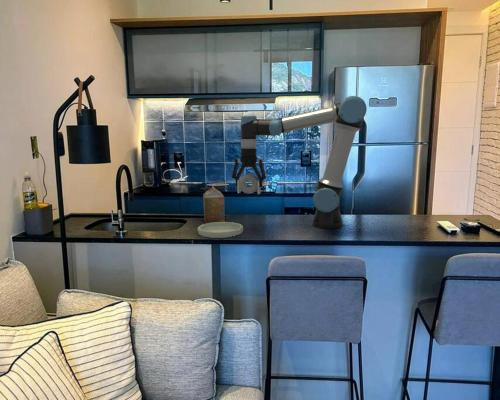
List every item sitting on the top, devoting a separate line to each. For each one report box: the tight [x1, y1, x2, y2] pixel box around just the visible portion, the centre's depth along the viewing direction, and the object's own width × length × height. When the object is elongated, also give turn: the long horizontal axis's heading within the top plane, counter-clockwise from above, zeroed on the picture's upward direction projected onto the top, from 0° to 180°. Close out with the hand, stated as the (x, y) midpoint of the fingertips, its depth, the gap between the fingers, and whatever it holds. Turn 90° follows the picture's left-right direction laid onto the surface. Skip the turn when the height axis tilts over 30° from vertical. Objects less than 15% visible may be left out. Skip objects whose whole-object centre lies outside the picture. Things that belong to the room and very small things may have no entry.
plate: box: [197, 221, 244, 239], centre depth 208 cm, size 22×22×2 cm
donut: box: [239, 173, 259, 195], centre depth 209 cm, size 10×4×10 cm, turn 89°
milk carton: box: [202, 185, 226, 224], centre depth 231 cm, size 11×11×19 cm
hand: (249, 193), depth 210 cm, fingers closed on donut, 10 cm apart
